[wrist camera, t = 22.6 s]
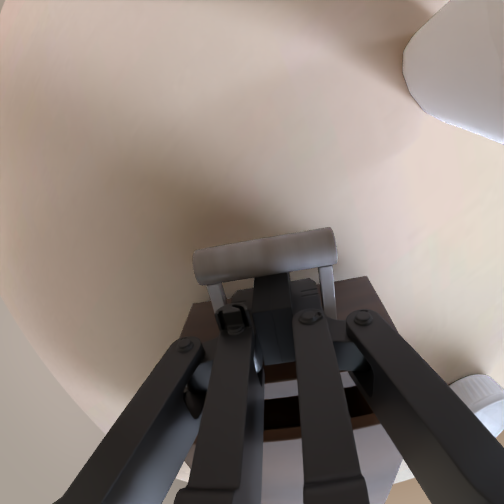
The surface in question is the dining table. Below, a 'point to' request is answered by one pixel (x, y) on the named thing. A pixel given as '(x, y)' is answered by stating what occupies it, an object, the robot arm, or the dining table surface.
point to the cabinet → (291, 461)
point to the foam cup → (461, 66)
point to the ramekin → (483, 400)
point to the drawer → (275, 262)
